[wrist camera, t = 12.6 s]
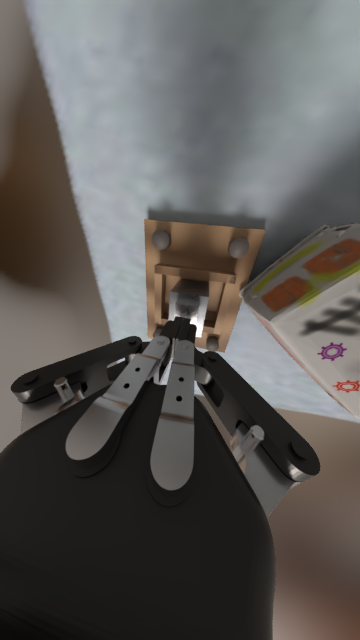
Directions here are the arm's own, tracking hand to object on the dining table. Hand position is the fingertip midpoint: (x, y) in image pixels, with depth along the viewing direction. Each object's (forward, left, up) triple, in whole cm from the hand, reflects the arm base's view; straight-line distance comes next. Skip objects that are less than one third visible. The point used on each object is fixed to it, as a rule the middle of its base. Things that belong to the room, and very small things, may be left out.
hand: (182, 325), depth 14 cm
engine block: (0, 0, -8) cm, 8 cm away
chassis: (0, 0, -9) cm, 9 cm away
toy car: (+1, +19, -10) cm, 21 cm away
